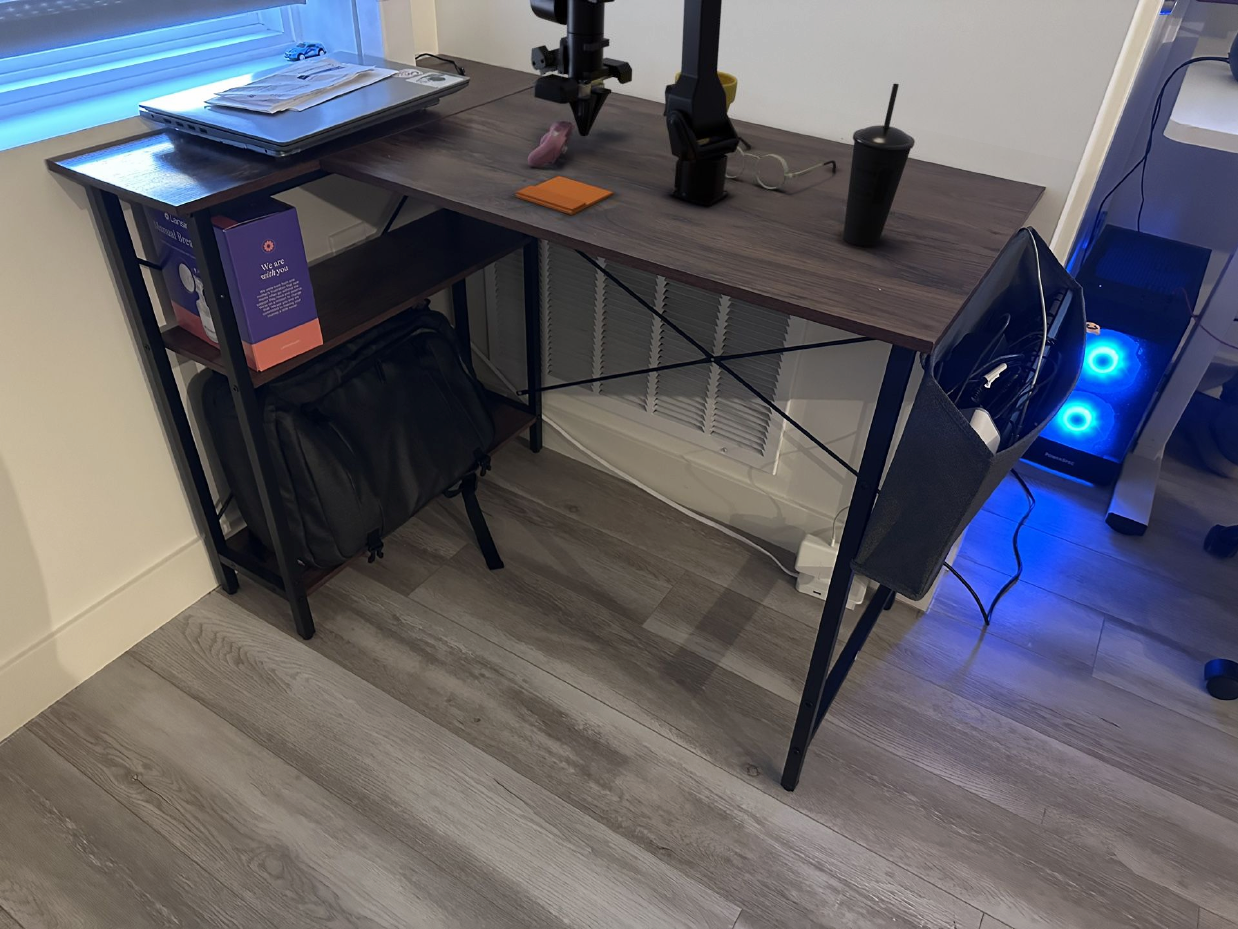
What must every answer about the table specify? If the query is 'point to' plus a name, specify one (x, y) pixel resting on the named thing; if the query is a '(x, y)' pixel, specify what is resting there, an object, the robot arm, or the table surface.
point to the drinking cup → (874, 178)
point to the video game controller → (551, 144)
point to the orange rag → (563, 195)
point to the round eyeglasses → (781, 163)
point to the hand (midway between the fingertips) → (583, 135)
